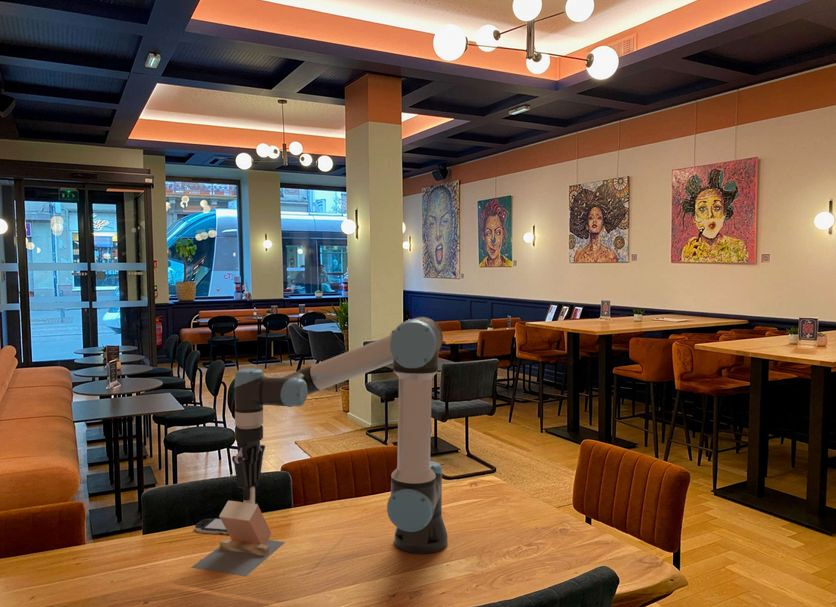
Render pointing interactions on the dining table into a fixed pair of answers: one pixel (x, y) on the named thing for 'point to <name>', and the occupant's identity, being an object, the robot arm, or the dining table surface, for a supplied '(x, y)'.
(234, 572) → the mat
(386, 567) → the dining table surface
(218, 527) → the gaming console
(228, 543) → the bar
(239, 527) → the block
